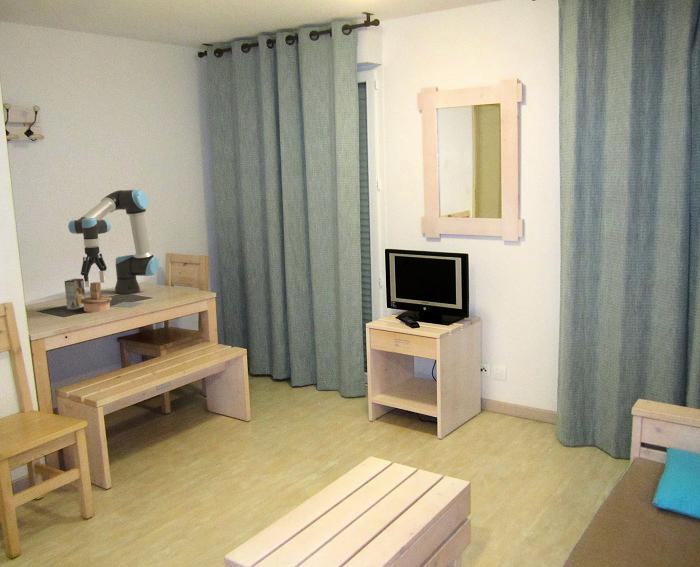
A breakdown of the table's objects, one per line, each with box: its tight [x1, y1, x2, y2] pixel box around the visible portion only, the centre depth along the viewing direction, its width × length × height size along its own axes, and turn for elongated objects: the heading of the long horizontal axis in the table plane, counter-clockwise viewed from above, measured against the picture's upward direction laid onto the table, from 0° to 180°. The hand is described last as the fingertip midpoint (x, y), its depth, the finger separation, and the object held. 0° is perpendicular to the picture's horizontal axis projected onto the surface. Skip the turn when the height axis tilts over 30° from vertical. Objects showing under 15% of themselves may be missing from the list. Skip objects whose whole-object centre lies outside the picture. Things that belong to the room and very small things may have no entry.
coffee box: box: [64, 278, 86, 310], centre depth 386 cm, size 9×6×16 cm
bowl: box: [83, 301, 111, 313], centre depth 380 cm, size 13×13×5 cm
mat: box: [110, 301, 144, 309], centre depth 391 cm, size 14×14×1 cm
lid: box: [81, 281, 113, 304], centre depth 378 cm, size 16×16×10 cm
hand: (95, 284), depth 378 cm, fingers open, 13 cm apart
